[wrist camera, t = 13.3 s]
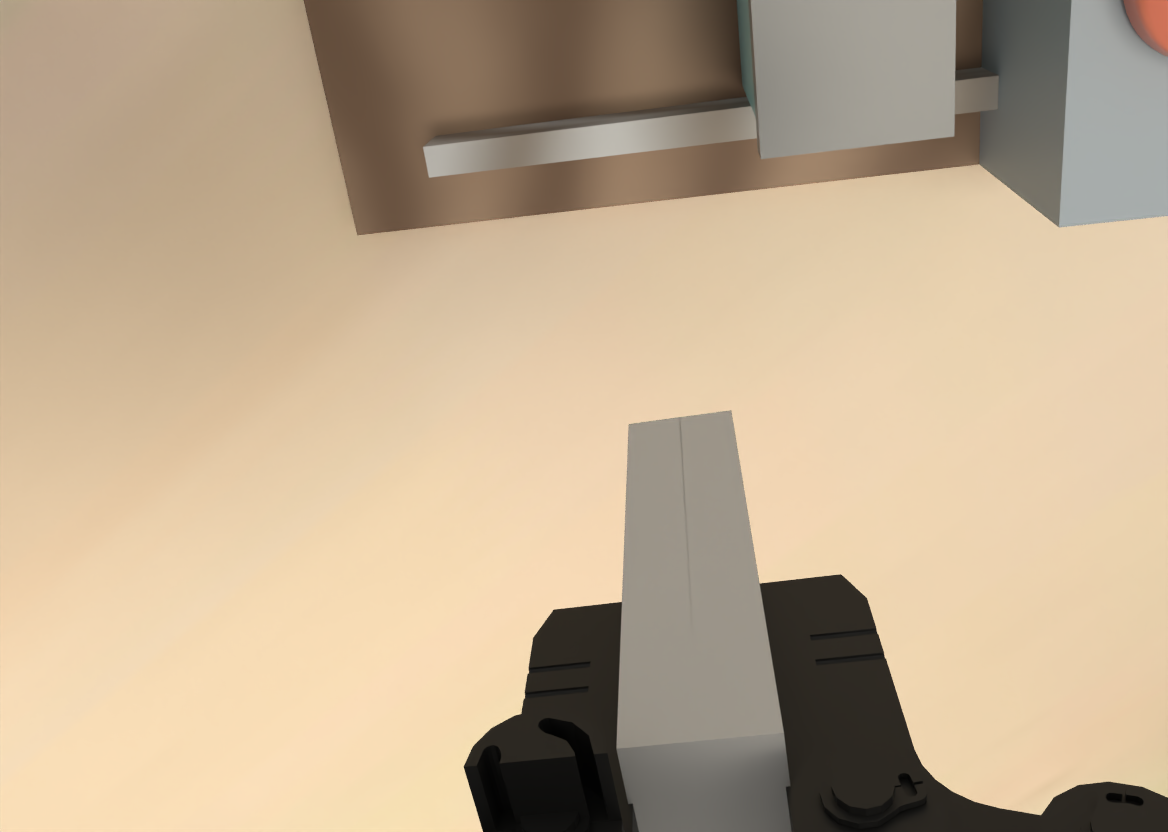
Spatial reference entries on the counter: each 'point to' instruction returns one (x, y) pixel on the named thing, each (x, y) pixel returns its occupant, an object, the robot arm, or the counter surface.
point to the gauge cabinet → (1075, 110)
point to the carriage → (847, 72)
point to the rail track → (572, 108)
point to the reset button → (1150, 22)
